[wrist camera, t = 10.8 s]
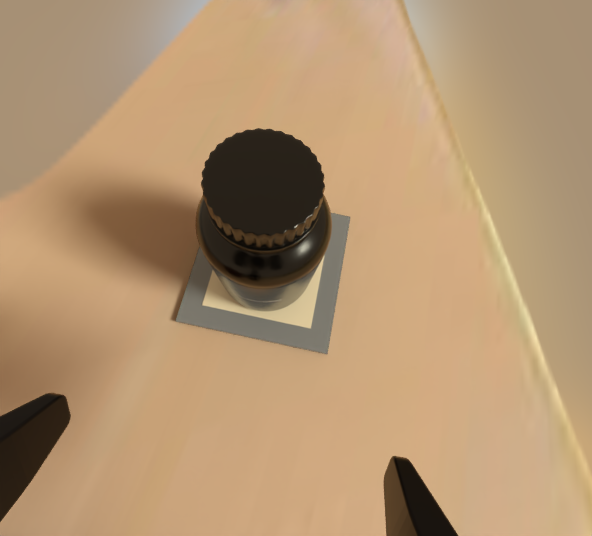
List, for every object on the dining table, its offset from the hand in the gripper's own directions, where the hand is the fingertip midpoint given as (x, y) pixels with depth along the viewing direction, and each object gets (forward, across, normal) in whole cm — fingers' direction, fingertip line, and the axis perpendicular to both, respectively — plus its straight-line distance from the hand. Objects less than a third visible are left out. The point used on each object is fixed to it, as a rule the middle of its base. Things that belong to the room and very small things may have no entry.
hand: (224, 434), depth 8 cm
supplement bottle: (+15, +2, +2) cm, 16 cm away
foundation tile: (+16, +2, +2) cm, 16 cm away
